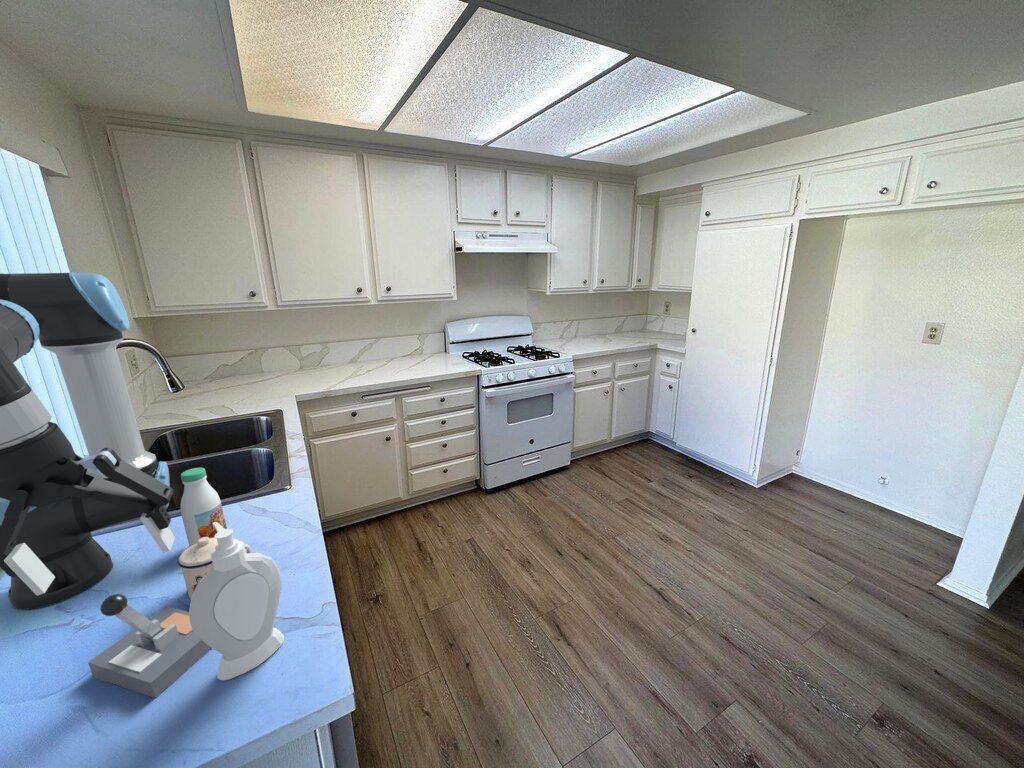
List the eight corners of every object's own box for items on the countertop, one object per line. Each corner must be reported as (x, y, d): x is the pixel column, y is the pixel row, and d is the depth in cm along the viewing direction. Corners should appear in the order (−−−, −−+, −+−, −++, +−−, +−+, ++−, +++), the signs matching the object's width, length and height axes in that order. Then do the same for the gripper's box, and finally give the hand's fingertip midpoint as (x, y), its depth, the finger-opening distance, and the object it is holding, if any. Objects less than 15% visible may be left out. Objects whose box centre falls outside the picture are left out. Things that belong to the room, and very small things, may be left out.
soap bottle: (280, 618, 77) (257, 504, 71) (298, 640, 72) (275, 519, 66) (198, 667, 68) (163, 540, 62) (212, 696, 63) (176, 562, 57)
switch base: (155, 698, 63) (146, 670, 62) (93, 676, 67) (83, 650, 65) (226, 634, 74) (220, 609, 73) (169, 619, 78) (163, 595, 76)
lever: (159, 649, 68) (104, 612, 61) (146, 645, 69) (90, 608, 61) (175, 630, 71) (123, 592, 63) (162, 627, 71) (110, 588, 64)
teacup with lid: (191, 611, 80) (177, 560, 77) (184, 587, 86) (171, 539, 83) (260, 579, 88) (250, 532, 85) (249, 560, 94) (240, 515, 91)
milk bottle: (188, 560, 94) (168, 482, 89) (193, 542, 101) (174, 469, 96) (228, 548, 98) (211, 473, 93) (230, 532, 105) (214, 461, 100)
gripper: (-189, 495, 39) (-32, 631, 48) (131, 418, 47) (210, 547, 57) (-120, 454, 45) (6, 582, 54) (151, 393, 53) (219, 513, 63)
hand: (110, 565), depth 56 cm, fingers open, 13 cm apart
